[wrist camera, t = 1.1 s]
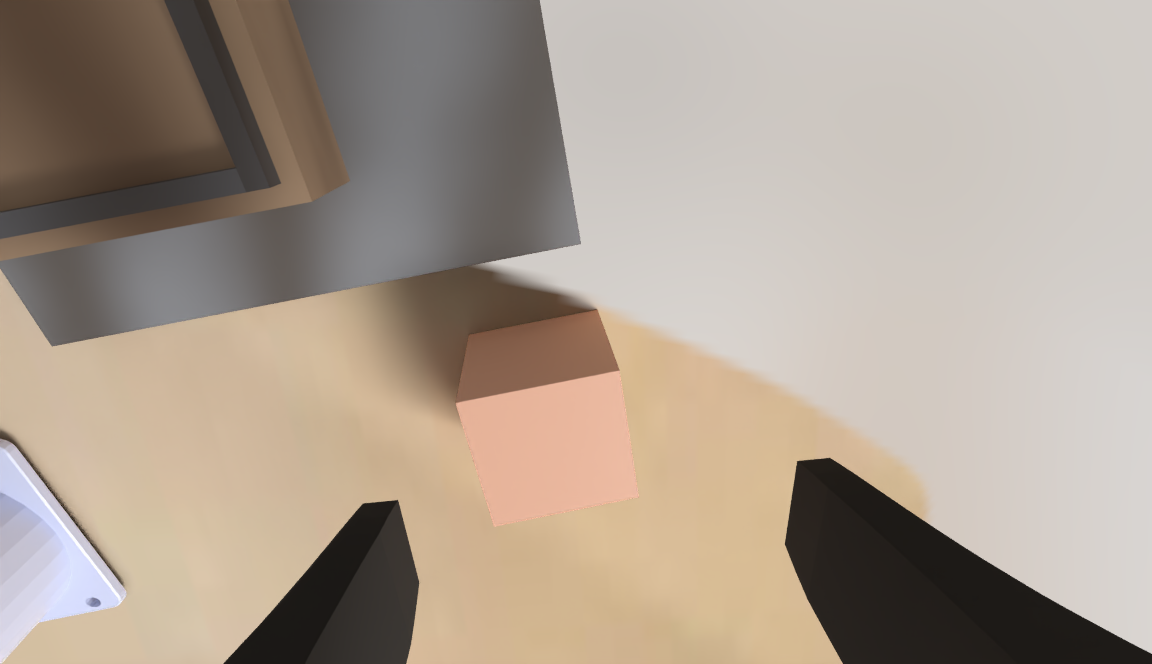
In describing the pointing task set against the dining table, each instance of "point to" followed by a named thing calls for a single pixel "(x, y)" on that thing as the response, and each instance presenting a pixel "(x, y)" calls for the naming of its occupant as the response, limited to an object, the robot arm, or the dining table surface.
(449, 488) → the dining table surface
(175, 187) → the base
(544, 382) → the terracotta block
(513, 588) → the dining table surface
